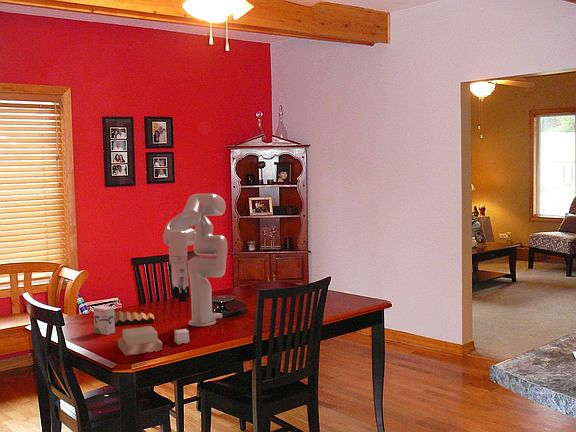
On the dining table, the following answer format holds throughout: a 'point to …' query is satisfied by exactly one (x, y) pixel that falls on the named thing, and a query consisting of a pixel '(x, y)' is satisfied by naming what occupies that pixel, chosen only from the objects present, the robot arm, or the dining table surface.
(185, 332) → the cube
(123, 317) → the pan flute
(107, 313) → the ink box
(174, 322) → the dining table surface
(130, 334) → the tower top
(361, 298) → the dining table surface
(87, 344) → the dining table surface
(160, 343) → the tower base
